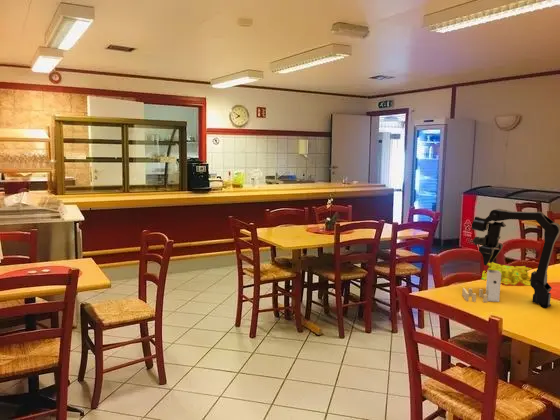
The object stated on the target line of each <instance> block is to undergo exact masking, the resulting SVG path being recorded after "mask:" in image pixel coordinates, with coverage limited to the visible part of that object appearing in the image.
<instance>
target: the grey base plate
mask: <svg viewBox="0 0 560 420" xmlns="http://www.w3.org/2000/svg"><path fill="white" fill-rule="evenodd" d="M461 296H462V297H463V298H464V300H465V302H469V301H470V300H469V298H470V297H471V302H474V303H475V302H476V301H477V293H473V288H468V290H467V289H466V288H465V287H462V295H461ZM478 297H479V298H482V302H483V303H486V304H487V303H488V301H487V294H486V293H484V288H483V289H482V288H479V290H478Z"/></svg>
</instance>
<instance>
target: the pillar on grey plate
mask: <svg viewBox="0 0 560 420" xmlns="http://www.w3.org/2000/svg"><path fill="white" fill-rule="evenodd" d="M486 271H487V281H486V284H485V285H486V286H485V294H487V302H494V303H495V302H497V303H499V302H500V295H501V294H500V292H501V284H500V283H501V273H500V272H499V271H496V270H486Z"/></svg>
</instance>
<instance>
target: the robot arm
mask: <svg viewBox="0 0 560 420" xmlns="http://www.w3.org/2000/svg"><path fill="white" fill-rule="evenodd" d="M507 220H515V221H516V220H519V221H520V220H521V221H523V220H525V221H536V222H537V223H538V224H539V226H540V227H541V228H542V229H543V230H544V231H543V233H544V234H543V235H544V239H543V240H544V243H543V246H542V251H541V255H540V258H539V261H538V264H537V265H538V266H537V268H536V271H535V270H534V271H532V272H531V273H530V274H531V275H530V277H531V279H530V280H529V281H531V282H530V285H531V286H530V287H531V288H532V289H533V291H534V293H533V294H532V301H531V302H532V303H533V304H537V305H539V307H540V308H546V309H547V308H549V307H551V306H552V303H551V296H552V293H551V290H552V288H553V287H552V286H551V285H550V284H549V283H548V269H549V266H550V265H549V264H550V261H551V258H552V254H553V252H554V251H553V250H554V246H555V243H556V241H558V238H559V237H560V223H557V222H555V221H553V220H552V219H551V218H549V217H548V216H547V215H545V214H544V213H543V212H542V211H511V210H507V209H502V208H496V209H493V210H490V212H489V215H488V216H487V217H485V218H483V217H479V216H474V219H473V221H472V224H471V229H472V230H474V231H478V232H485V231H487V233H486V235H484V236H482V237H479V236H475V237H474V238H473V241H472V242H473V243H474V245H475V246H477V245H480V246H479V247H478V252H479V253H480V254H481V255H482V260H483V261H482V262H483V266H488V263H492V262H493V263H494V260H495V259H496V257H497V256H498V255H499V253H500V252H501V251H502V249H503V244H502V243H501V242H499V240H500V239H501V236H500V235H501V230H502V228H505V227H507V225H506V223H505V221H507Z"/></svg>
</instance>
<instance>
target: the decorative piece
mask: <svg viewBox="0 0 560 420" xmlns="http://www.w3.org/2000/svg"><path fill="white" fill-rule="evenodd" d="M487 266H488V268H487V270H496V271H499V272H500V273H501V283H500V285H501V284H502V285H501V286H504V287H516V286H517V287H532V286H531V285H530V282H531V281H529V280H530V279H531V276H529V272H528V271H530V270H532V269H533V268H531V267H526V266H527V265H522V266H518V265H515V266H513V265H505V264H499V263H498V262H497V263H495V262H494V261H493V262H488V264H487ZM487 270H483V271H482V274H481V278H480V280H483V281H486V280H487V272H486V271H487ZM485 272H486V273H485Z"/></svg>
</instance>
